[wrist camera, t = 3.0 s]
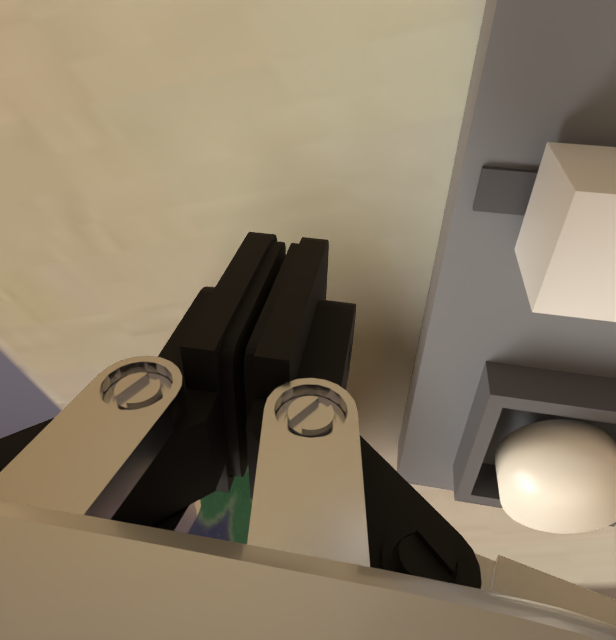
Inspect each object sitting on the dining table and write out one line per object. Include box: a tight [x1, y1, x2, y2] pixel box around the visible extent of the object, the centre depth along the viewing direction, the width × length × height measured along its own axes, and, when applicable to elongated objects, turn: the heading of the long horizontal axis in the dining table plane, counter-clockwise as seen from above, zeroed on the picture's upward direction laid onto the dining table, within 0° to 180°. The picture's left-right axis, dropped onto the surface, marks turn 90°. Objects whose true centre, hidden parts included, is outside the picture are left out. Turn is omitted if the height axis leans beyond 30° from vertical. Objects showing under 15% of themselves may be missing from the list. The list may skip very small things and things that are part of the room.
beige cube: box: [514, 142, 616, 322], centre depth 12 cm, size 3×2×3 cm
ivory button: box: [495, 419, 616, 534], centre depth 17 cm, size 4×4×2 cm
